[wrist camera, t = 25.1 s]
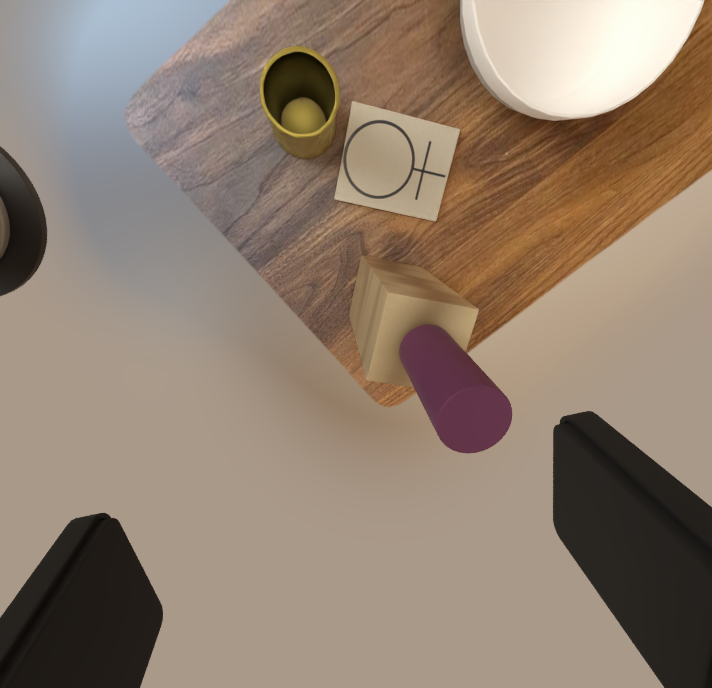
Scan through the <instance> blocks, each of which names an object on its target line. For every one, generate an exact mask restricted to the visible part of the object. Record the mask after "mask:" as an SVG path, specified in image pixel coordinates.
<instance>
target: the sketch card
mask: <svg viewBox="0 0 712 688" xmlns="http://www.w3.org/2000/svg"><path fill="white" fill-rule="evenodd" d="M459 133H460V129H457V128H453V127H450V126H446V125H442V124H438V123H434V122H430V121H427V120H423V119H419V118H415V117H411V116H407V115H404V114H400V113H396V112H392V111H388V110H385V109H381V108H377V107H373V106H369V105H365V104H362V103H358V102H354V101H352V104H351V109H350V115H349V120H348V126H347V131H346V137H345V142H344V148H343V153H342V159H341V164H340V170H339V175H338V181H337V186H336V192H335V197H334V199H335V200H339V201H344V202H348V203H353V204H357V205H362V206H366V207H371V208H376V209H380V210H385V211H389V212H394V213H398V214H403V215H407V216H412V217H416V218H421V219H426V220H430V221H435V222H436V219H437V216H438V212H439V208H440V204H441V201H442V197H443V193H444V189H445V185H446V182H447V178H448V174H449V170H450V167H451V163H452V159H453V155H454V152H455V148H456V144H457V140H458V136H459Z"/></svg>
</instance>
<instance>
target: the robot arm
mask: <svg viewBox="0 0 712 688" xmlns="http://www.w3.org/2000/svg"><path fill="white" fill-rule="evenodd" d="M9 237H10V222H9V218H8V213H7V210H6V208H5V205H4V203H3V200H2V198H1V197H0V258H1V257H2V256H3V255H4V253H5V250H6V248H7V246H8V242H9ZM553 433H554V434H553V522H554V526H555V529H556V532H557V534H558V536H559V538H560V539H561V540H562V542H563V543H564V545H565V546H566V548H567V549H568V550H569V552H570V554H571V555H572V556H573V558H574V559H575V560H576V562H577V563H578V565H579V566H580V568H581V569H582V571H583V572H584V574H585V575H586V576H587V578H588V579H589V581H590V582H591V584H592V585H593V586H594V588H595V589H596V590H597V592H598V593H599V595H600V596H601V598H602V599H603V601H604V602H605V603H606V605H607V606H608V608H609V609H610V611H611V612H612V613H613V615H614V616H615V618H616V619H617V621H618V622H619V623H620V625H621V626H622V628H623V629H624V631H625V632H626V633H627V635H628V636H629V638H630V639H631V640H632V642H633V643H634V645H635V646H636V648H637V649H638V650H639V652H640V653H641V655H642V656H643V658H644V659H645V661H646V662H647V663H648V665H649V666H650V668H651V669H652V671H653V672H654V673H655V675H656V676H657V678H658V679H659V680H660V682H661V683H662V685H663V686H664V688H712V507H711V506H709V505H708V504H707V503H706V502H704V501H703V500H702V499H701V498H699V497H698V496H697V495H696V494H695V493H693V492H692V491H691V490H690V489H688V488H687V487H686V486H685V485H683V484H682V483H681V482H680V481H678V480H677V479H676V478H675V477H674V476H672V475H671V474H670V473H668V472H667V471H666V470H665V469H664V468H662V467H661V466H660V465H659V464H657V463H656V462H655V461H654V460H652V459H651V458H650V457H649V456H647V455H646V454H645V453H644V452H642V451H641V450H640V449H639V448H638V447H636V446H635V445H634V444H632V443H631V442H630V441H629V440H628V439H626V438H625V437H624V436H623V435H621V434H620V433H619V432H618V431H616V430H615V429H614V428H613V427H612V426H610V425H609V424H608V423H607V422H605V421H604V420H603V419H602V418H600V417H599V416H598V415H597V414H595V413H594V412H591V411H587V412H582V413H577V414H573V415H567V416H564V417H562V418H561V420H560V424H559V425H556V426H555V427H554V432H553ZM162 619H163V610H162V605H161V603H160V601H159V599H158V597H157V595H156V593H155V591H154V589H153V587H152V585H151V583H150V581H149V579H148V577H147V576H146V573H145V571H144V569H143V567H142V566H141V564H140V562H139V560H138V558H137V556H136V554H135V552H134V550H133V548H132V546H131V544H130V542H129V540H128V538H127V536H126V534H125V532H124V531H123V528H122V527H121V525H120V523H119V521H118V520H117V519H115V518H111V517H110V516H109V515H108V514H106V513H99V514H94V515H90V516H85V517H80V518H76V519H74V520H72V521H71V522H70V523H69V524H68V525H67V526H66V527H65V529H64V530H63V532H62V533H61V534H60V536H59V537H58V539H57V540H56V541H55V543H54V544H53V546H52V547H51V548H50V550H49V551H48V552H47V554H46V555H45V557H44V558H43V559H42V561H41V562H40V564H39V565H38V566H37V568H36V569H35V571H34V572H33V573H32V575H31V576H30V578H29V579H28V580H27V581H26V583H25V584H24V586H23V587H22V588H21V590H20V591H19V593H18V594H17V595H16V597H15V598H14V600H13V601H12V603H11V604H10V605H9V606H8V608H7V609H6V611H5V612H4V614H3V615H2V616H1V618H0V688H140V686H141V683H142V680H143V677H144V674H145V671H146V668H147V666H148V663H149V660H150V657H151V654H152V651H153V648H154V645H155V642H156V639H157V636H158V634H159V631H160V628H161V624H162Z"/></svg>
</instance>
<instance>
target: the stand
mask: <svg viewBox="0 0 712 688" xmlns="http://www.w3.org/2000/svg"><path fill="white" fill-rule="evenodd" d="M478 312H479V309H478V308H476V307H475V306H474V305H472V304H471V303H470V302H468V301H467V300H466V299H464V298H463V297H462V296H460V295H459V294H458V293H456V292H455V291H454V290H452V289H451V288H450V287H448V286H447V285H446V284H444V283H443V282H442V281H440V280H439V279H437V278H436V277H435V276H433V275H432V274H431V273H429V272H428V271H427V270H425V269H424V268H423V267H420V266H415V265H410V264H405V263H400V262H395V261H390V260H385V259H380V258H375V257H370V256H365V255H361V260H360V265H359V269H358V274H357V279H356V284H355V288H354V293H353V298H352V302H351V307H350V312H349V318H350V321H351V325H352V328H353V332H354V336H355V339H356V343H357V346H358V350H359V354H360V357H361V361H362V364H363V368H364V371H365V375H366V379H367V380H368V381H374V382H381V383H388V384H394V385H401V386H408V387H414V386H413V384H412V382H411V380H410V378H409V376H408V374H407V372H406V370H405V368H404V367H403V365H402V363H401V360H400V356H399V349H400V345H401V342H402V340H403V338H404V337H405V336H406V334H407V333H408V332H409V331H411V330H412V329H414V328H416V327H418V326H421V325H426V324H431V325H437V326H439V327H441V328H443V329H444V330H446V331H447V332H448V334H449V335H450V336H451V337H452V338H453V339H454V340H455V341H456V342H457V343H458V344H459V345H460V347H461V348H462V349H463V350H464V351H465V352H466V349H467V346H468V343H469V340H470V337H471V334H472V331H473V328H474V324H475V321H476V318H477V315H478Z"/></svg>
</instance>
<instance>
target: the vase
mask: <svg viewBox="0 0 712 688" xmlns="http://www.w3.org/2000/svg"><path fill="white" fill-rule="evenodd" d="M260 100H261V105H262V107H263V109H264V111H265V113H266V115H267V118H268V119H269V120H270V122H271V124H272V128H273V132H274V135H275V137H276V139H277V142H278V143H279V144H280V146H281V147H282V148H283V149H284V150H285V151H287V152H288V153H289V154H291V155H293V156H295V157H298V158H303V159H308V158H313V157H316V156H318V155H320V154H322V153H323V152H324V151H325V150H326V149H327V148H328V147H329V146H330V145H331V143H332V141H333V138H334V135H335V132H336V114H337V111H338V108H339V106H340V92H339V81H338V78H337V76H336V74H335V72H334V70H333V68H332V67H331V66H330V64H329V63H328V62H327V61H326V59H325V58H324V57H323V56H321V55H320V54H319V53H317V52H316V51H314V50H312V49H309V48H307V47H303V46H293V47H288V48H285V49H282V50H281V51H279V52H278V53H276V54H275V55H274V56H273V57H272V58H271V59H270V60H269V61H268V62H267V63H266V65H265V67H264V69H263V72H262V75H261V78H260Z"/></svg>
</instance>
